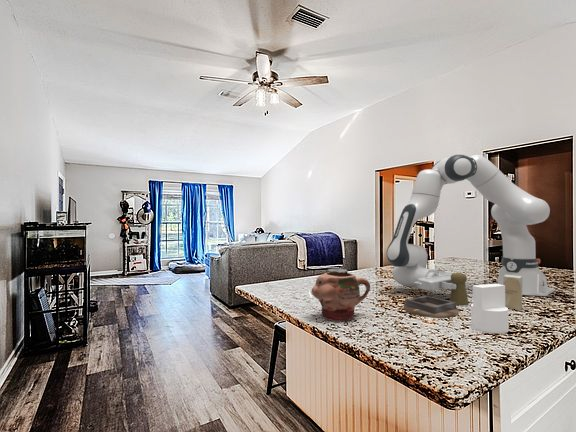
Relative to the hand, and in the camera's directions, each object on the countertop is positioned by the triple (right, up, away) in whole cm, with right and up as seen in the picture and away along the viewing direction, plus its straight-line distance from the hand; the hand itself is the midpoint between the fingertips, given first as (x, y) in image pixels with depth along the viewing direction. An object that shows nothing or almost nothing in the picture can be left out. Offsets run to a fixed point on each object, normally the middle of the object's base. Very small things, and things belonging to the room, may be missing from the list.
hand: (461, 285), depth 116 cm
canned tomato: (-43, -7, +11) cm, 45 cm away
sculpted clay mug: (-45, -7, -13) cm, 48 cm away
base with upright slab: (-5, -7, -25) cm, 26 cm away
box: (+15, -7, -6) cm, 17 cm away
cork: (0, -7, +1) cm, 7 cm away
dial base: (-14, -7, -7) cm, 17 cm away
